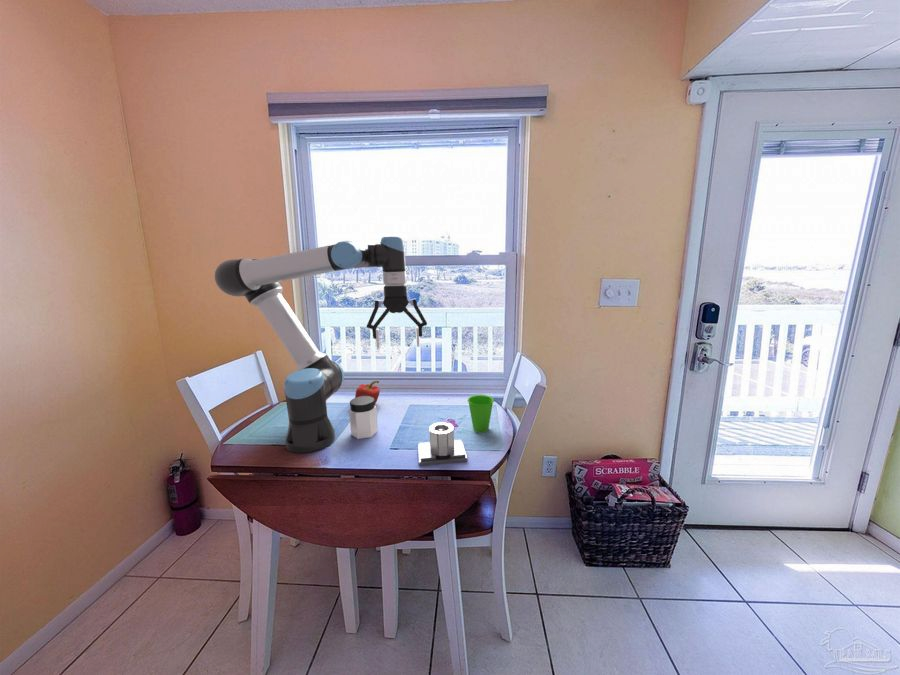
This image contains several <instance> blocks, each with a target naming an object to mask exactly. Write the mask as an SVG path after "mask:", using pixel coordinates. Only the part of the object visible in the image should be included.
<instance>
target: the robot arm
mask: <svg viewBox="0 0 900 675" xmlns="http://www.w3.org/2000/svg"><path fill="white" fill-rule="evenodd" d="M404 243H405V240H404V239H403V238H402V237H401V236H382V237H381V238H380V242H379V243H359V242H354V241H350V240H342V241H338V242H337V243H334V244H331V245H330V244H329V245H324V246H319V247H313V248H309V249H304V250H299V251H295V252H289V253H285V254H279V255H274V256H269V257H265V258H254V259H253V258H252V259H251V258H247V257H245V258H240V259H237V258H235V259H234V258H233V259H228V260H225V261H223V262H221V263H220V264H219V265H218V266H217V267H216V269H215V270H214V282H215V283H216V285H217V287H218V289H219V290H220V291H222V292H223V293H225V294H226V295H229V296H232V297H244V298H245V299H246V300H247V301H248V303H249V304H250V306H254V307H257V308H258V309H259V310H260V312H261V314H262V315H263V316H264V318H265V320H266V321H267V322H268V323H269V325H270V327H271V328H272V329H273V331H274V332H275V334H276V335H277V337H278V338H279V340H280V341H281V343H282V344H283V345H284V347H285V349H286V350H287V352H288V353H289V354H290V356H291V357H292V359H293V360H294V362H295V363H296V364H297V368H296V371H293V372H292V373H290V374H288V375H287V377H285V380H284V387H283V389H284V395H285V396H284V397H285V401H286V408H287V416H288V427H287V432H286V435H285V447H286V448H285V449H287V450H288V451H290V452H291V453H294V454H295V453H296V454H308V453H312V452H317V451H319V450H322V449H324V448H325V449H326V448H327V447H328V446H329V445H331V444H332V443H334V441H335V439H336V431H335V428H334V427H333V424H332V422H331V421H330V418H329V417H328V411H327V410H328V409H327V401H328V399H329V398H330V397H331V396H332V395H333V394H335V393H336V392H338V391H339V389H340V388H341V386H342V385H343V383H344V381H345V372H344V369H343V367H342V366H341V364H339V362H337V361H335V360H332V359H330V357H329V356H328V354H327V353H326V352H321V351H320V350H319V348H318V347H317V345H316V344H315V343H314V341H313V340H312V338H311V337H310V335H309V333H308V332H307V330H306V329H305V327H304V326H303V324H302V322H300V320H299V319H298V317H297V315H296V314H295V312H294V311H293V310H292V307H291V306H290V305H289V303H288V302H287V301H286V299H285V297H283V291H284V290H283V289H284V288H283V286H282V285H281V282H285V281H290V280H291V281H292V280H296V279H300V278H307V277H310V276H311V277H313V276H316V275H322V274H327V273H332V272H333V273H334V272H337V271H338V272H339V271H345V270H349V269H350V270H351V269H359V268H360V269H361V268H382V279H383V280H382V281H383V284H384V286H383V296H384V299H383V300H380V299H376V300H375V301H374V308H373V310H372V313H371V314H370V315H371V316H370V318H369V320H368V322H367V324H366V329H371V330H372V338H373V339H374V340H376V349H377V350H379V349H380V348H381V344H380V329H379V328H378V327H379V325H380V324H381V322H382V321H383V320H384V319H385V317H386V316H387V315H388V314H389V313H391V314H395V313H397V314H400V313H405V314H406V316H408V317H409V319H410V320H411V321H413V323H414V324H415V325H416V326H415V329H416V333H415V334H416V348H417V347H420V338H421V337H423V327H427V325H428V322H427V320H426V318H425V317H424V314H423V313H422V312H421V309H420V308H419V306H418V304H417V302H418V301H417V298H412V299H408V294H407V292H408V291H407V285H405V284H406V283H407V273H406V250H405V244H404ZM409 304H410V305H411V307H413V308H414V309H415V312H416V314H417V315H418V317H419V319H420V321H421V322H420V321H419V320H418V319H417V318H416V316H415V315H414V314H413V313H412V312H411V311H410V310H409V309H408V308H407V307H408V305H409ZM382 305H383V306H384V307H385V308H386V309H385V310H384V311H383V312H382V314H381V315H380V316H379V318H378V319H377V320H376V322H375V323H374V324H373V322H374V320H375V317H376V314H377V313H378V310H379V308H380V307H382Z"/></svg>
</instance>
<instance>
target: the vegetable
mask: <svg viewBox="0 0 900 675" xmlns="http://www.w3.org/2000/svg"><path fill="white" fill-rule="evenodd" d="M379 383H380V380H373V381H372V382H370V383H367V384H363V383H362V384H359V386H358V387H357V389H356V390H355V396H354V398H356V397H361V396H370V397H373V398H374V401H375V405H376V403H377V401H378V399H379V396H380V392H381V391H380V387H379V386H377V385H375V384H379Z"/></svg>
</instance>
